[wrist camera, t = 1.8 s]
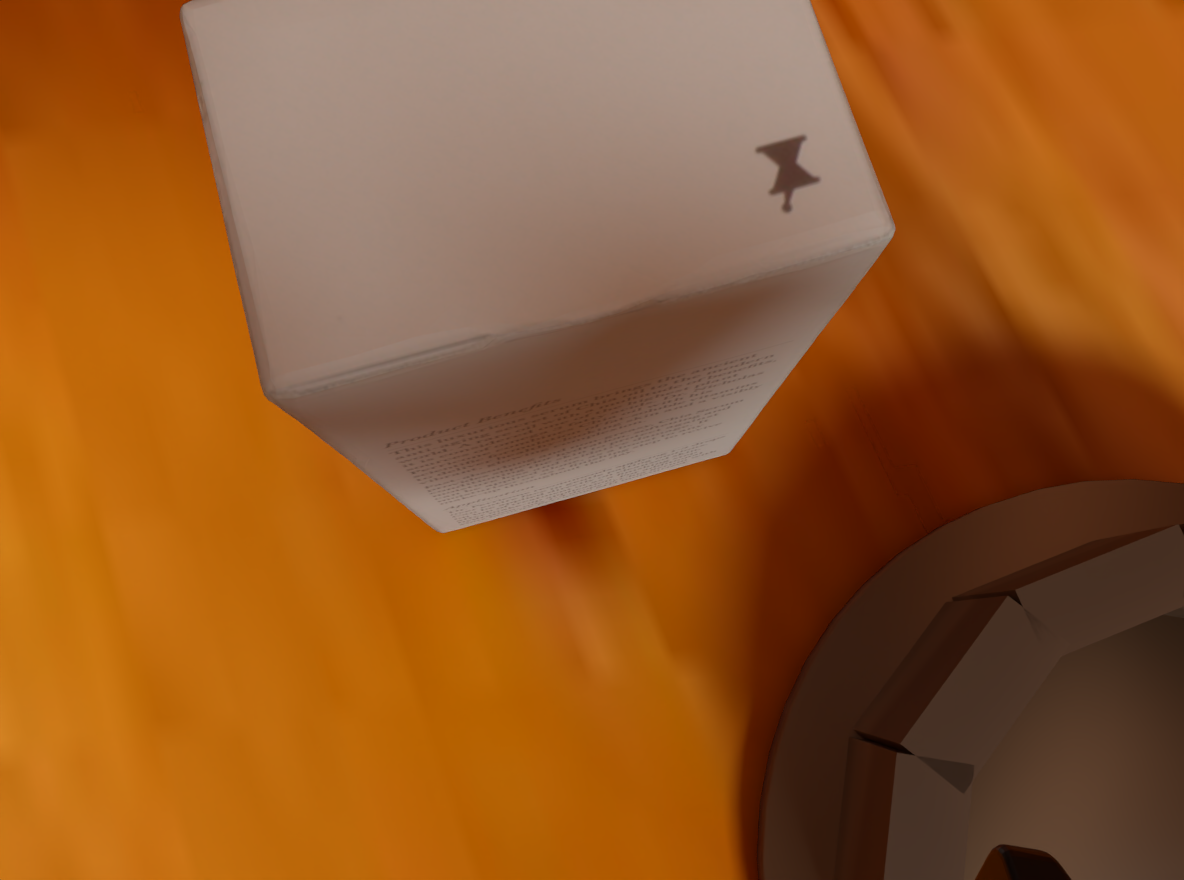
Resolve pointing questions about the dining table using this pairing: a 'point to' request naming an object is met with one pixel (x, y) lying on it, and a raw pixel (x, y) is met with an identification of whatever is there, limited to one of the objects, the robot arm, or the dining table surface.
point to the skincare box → (530, 228)
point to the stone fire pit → (996, 700)
